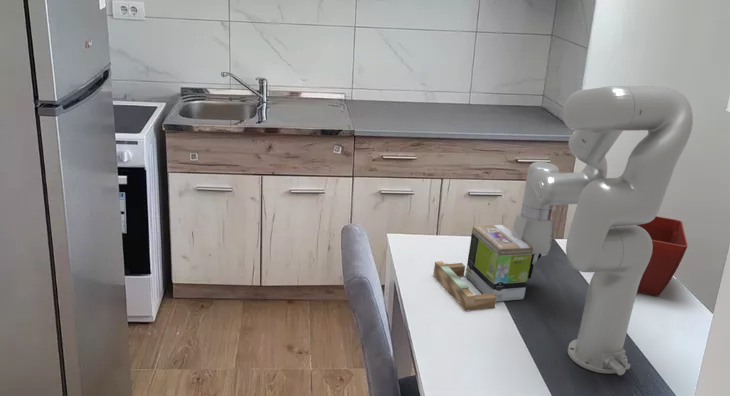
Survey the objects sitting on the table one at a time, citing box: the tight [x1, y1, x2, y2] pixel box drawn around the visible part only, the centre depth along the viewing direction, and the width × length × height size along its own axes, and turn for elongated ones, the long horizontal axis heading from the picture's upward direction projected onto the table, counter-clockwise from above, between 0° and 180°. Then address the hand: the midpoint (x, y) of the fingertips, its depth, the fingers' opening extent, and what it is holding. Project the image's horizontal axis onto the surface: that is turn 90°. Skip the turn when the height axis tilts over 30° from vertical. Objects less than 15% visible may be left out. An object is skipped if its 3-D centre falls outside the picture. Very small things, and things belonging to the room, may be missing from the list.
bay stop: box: [433, 260, 497, 312], centre depth 178 cm, size 19×8×4 cm, turn 19°
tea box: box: [465, 224, 533, 302], centre depth 180 cm, size 15×10×15 cm
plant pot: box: [637, 215, 688, 297], centre depth 189 cm, size 19×19×17 cm
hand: (524, 276), depth 183 cm, fingers closed
